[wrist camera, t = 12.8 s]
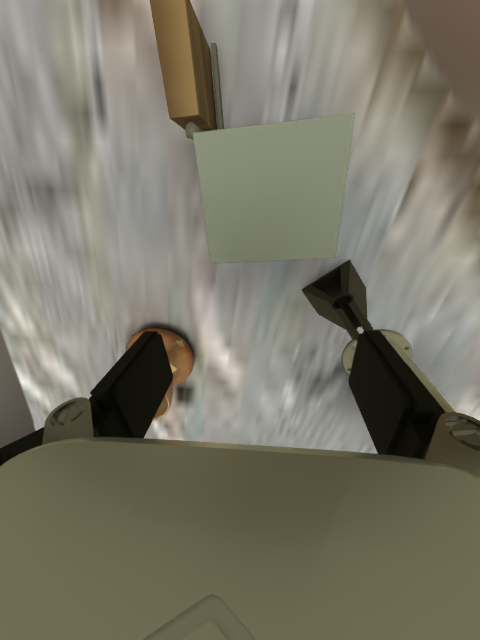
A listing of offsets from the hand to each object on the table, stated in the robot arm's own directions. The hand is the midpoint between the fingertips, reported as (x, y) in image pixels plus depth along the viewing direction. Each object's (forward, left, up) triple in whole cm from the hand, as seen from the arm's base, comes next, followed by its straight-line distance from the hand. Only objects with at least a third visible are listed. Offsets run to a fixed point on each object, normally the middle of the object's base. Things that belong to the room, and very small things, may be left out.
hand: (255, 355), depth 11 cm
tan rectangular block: (+18, +7, -30) cm, 36 cm away
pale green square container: (+11, +1, -30) cm, 32 cm away
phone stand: (-9, -12, -30) cm, 34 cm away
